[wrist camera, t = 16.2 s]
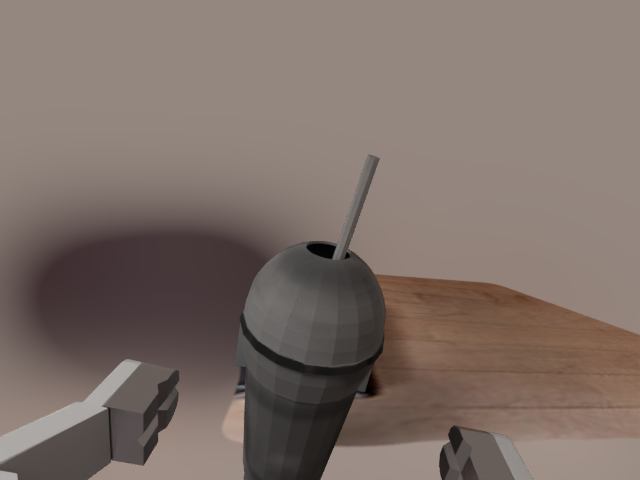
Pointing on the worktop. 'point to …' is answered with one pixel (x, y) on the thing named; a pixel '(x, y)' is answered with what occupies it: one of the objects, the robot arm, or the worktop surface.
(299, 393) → the beverage cup
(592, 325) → the worktop surface
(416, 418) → the worktop surface
